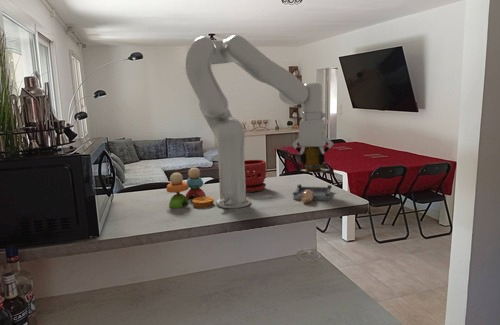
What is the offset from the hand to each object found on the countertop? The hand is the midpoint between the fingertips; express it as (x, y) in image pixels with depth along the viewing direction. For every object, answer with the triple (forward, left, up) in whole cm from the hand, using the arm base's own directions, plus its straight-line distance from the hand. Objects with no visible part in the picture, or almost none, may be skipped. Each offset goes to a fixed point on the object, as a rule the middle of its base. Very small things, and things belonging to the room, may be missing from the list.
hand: (312, 163), depth 146 cm
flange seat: (-2, 0, -13) cm, 13 cm away
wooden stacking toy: (-14, +43, -13) cm, 47 cm away
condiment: (0, -1, -3) cm, 3 cm away
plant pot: (+7, +27, -13) cm, 30 cm away
